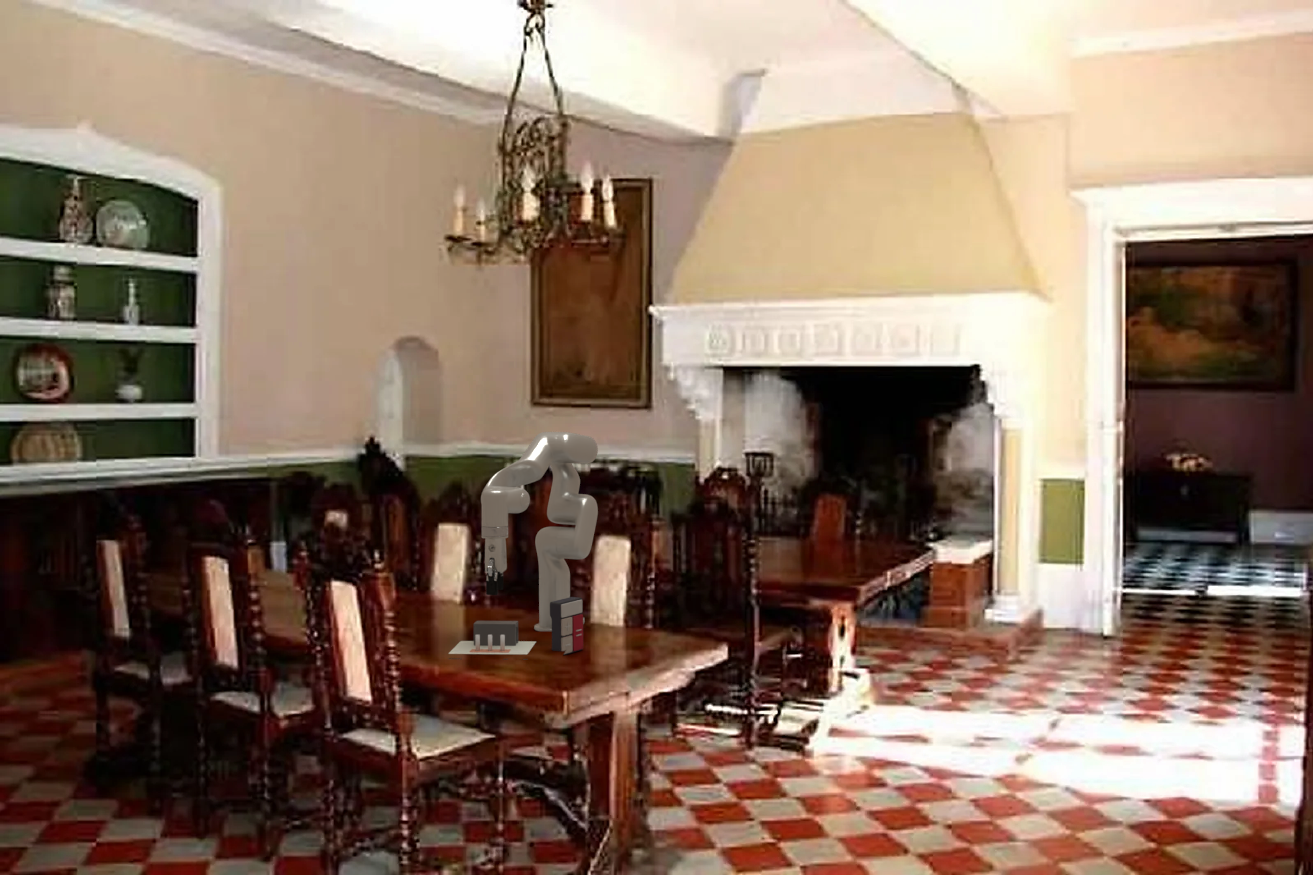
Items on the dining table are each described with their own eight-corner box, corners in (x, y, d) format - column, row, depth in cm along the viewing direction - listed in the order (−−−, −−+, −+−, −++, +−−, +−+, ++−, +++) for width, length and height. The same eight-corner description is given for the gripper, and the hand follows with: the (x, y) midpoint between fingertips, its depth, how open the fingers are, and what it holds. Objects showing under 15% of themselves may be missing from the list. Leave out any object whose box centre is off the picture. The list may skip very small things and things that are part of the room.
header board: (536, 646, 402) (536, 626, 402) (527, 659, 384) (527, 638, 384) (460, 646, 403) (460, 625, 403) (448, 659, 385) (448, 637, 385)
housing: (518, 642, 401) (518, 621, 400) (515, 645, 396) (515, 624, 395) (476, 642, 401) (476, 620, 401) (473, 645, 396) (473, 623, 396)
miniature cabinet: (562, 656, 388) (562, 603, 387) (549, 655, 390) (549, 602, 389) (585, 650, 397) (584, 597, 396) (572, 648, 399) (572, 596, 399)
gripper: (503, 535, 388) (503, 597, 389) (512, 529, 405) (512, 588, 406) (476, 535, 388) (476, 596, 389) (487, 529, 406) (487, 587, 406)
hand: (494, 592), depth 397 cm, fingers open, 9 cm apart
